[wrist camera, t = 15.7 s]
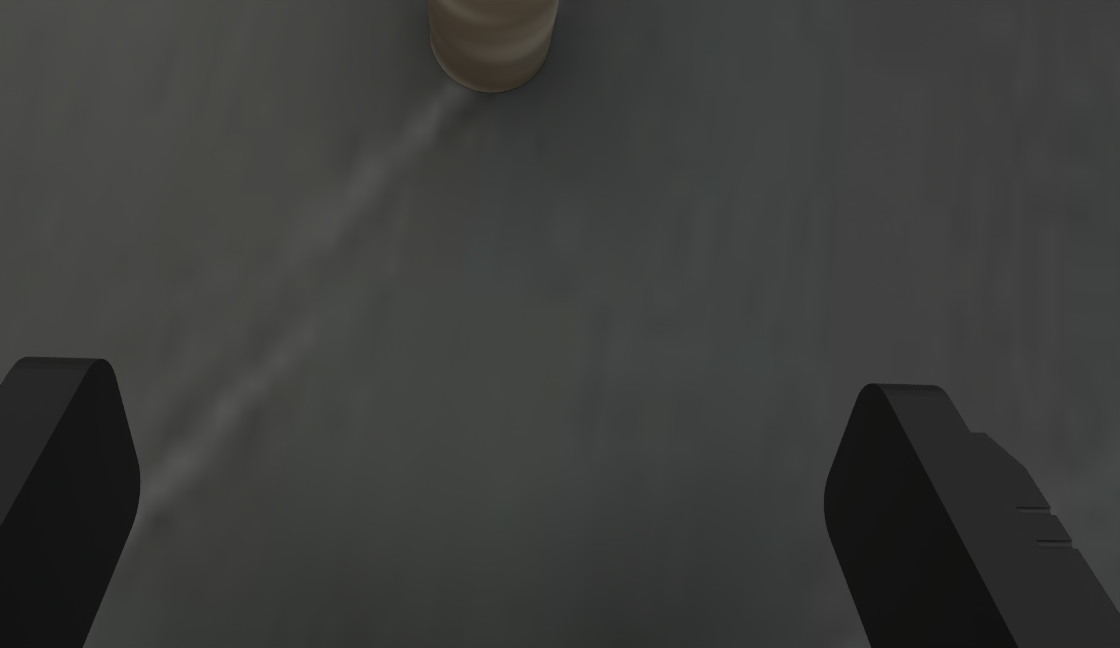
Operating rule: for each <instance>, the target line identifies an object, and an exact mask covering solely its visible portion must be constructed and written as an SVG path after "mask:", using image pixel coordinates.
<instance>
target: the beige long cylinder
mask: <svg viewBox="0 0 1120 648" xmlns="http://www.w3.org/2000/svg"><path fill="white" fill-rule="evenodd" d="M558 3H559V0H427V6H428V18H429V31H430V42H431V47H432V50H433V53H434V56H435V58H436V60H437V62H438V63H439V65H440V66H441V68H442V69H443V70H444V71H445V72H446V74H447V75H448V76H450V77H451V78H452V79H453V80H454V81H456V82H458V83H459V84H461V85H463V86H465V87H467V88H469V89H472V90H475V91H480V92H487V93H498V92H505V91H509V90H512V89H515V88H517V87H519V86H521V85H523V84H525V83H526V82H528V81H529V80H530V79H531V78H533V77H534V76H535V75H536V73H537V72H538V71H539V70H540V68H541V67H542V65H543V63H544V62H545V60H546V57H547V54H548V51H549V46H550V41H551V36H552V32H553V27H554V22H555V18H556V13H557V8H558Z"/></svg>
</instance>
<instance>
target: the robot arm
mask: <svg viewBox="0 0 1120 648" xmlns="http://www.w3.org/2000/svg"><path fill="white" fill-rule="evenodd" d="M139 496H140V470H139V464H138V459H137V455H136V452H135V448H134V444H133V440H132V437H131V433H130V429H129V425H128V421H127V418H126V414H125V410H124V406H123V402H122V399H121V395H120V391H119V387H118V384H117V380H116V376H115V373H114V370H113V368H112V366H111V365H110V364H109V362H108V361H106V360H104V359H92V358H57V357H24V358H22V359H20V360H19V361H18V362H16V363H15V365H14V366H13V367H12V368H11V370H10V371H9V373H8V374H7V376H6V377H5V379H4V380H3V382H2V383H1V385H0V648H83V645H84V643H85V640H86V638H87V636H88V633H89V631H90V628H91V626H92V623H93V621H94V619H95V616H96V614H97V611H98V609H99V606H100V604H101V601H102V599H103V597H104V594H105V592H106V589H107V587H108V584H109V582H110V579H111V577H112V575H113V572H114V570H115V567H116V565H117V562H118V560H119V558H120V555H121V553H122V550H123V548H124V545H125V543H126V540H127V538H128V536H129V533H130V531H131V528H132V526H133V523H134V520H135V517H136V513H137V508H138V503H139ZM1050 508H1051V507H1050V505H1049V504H1048V502H1047V501H1046V499H1045V498H1044V496H1043V495H1042V493H1041V492H1040V490H1039V488H1038V487H1037V485H1036V484H1035V482H1034V481H1033V479H1032V478H1031V476H1030V475H1029V473H1028V471H1027V470H1026V468H1025V467H1024V466H1023V465H1021V464H1020V463H1019V462H1018V461H1017V460H1016V459H1015V458H1013V457H1012V456H1011V455H1010V454H1009V453H1008V452H1006V451H1005V450H1004V449H1003V448H1002V447H1001V446H999V445H998V444H997V443H996V442H995V441H994V440H993V439H991V438H990V437H989V436H988V435H987V434H986V433H971V432H970V431H969V429H968V427H967V426H966V424H965V423H964V421H963V419H962V418H961V416H960V414H959V413H958V411H957V409H956V408H955V406H954V404H953V403H952V401H951V399H950V398H949V396H948V395H947V394H946V392H945V391H944V390H943V389H942V388H940V387H938V386H935V385H908V384H874V383H872V384H868V385H866V386H865V387H864V388H863V389H862V390H861V392H860V393H859V395H858V397H857V400H856V402H855V405H854V408H853V410H852V413H851V416H850V418H849V421H848V424H847V427H846V429H845V432H844V435H843V437H842V440H841V443H840V445H839V448H838V451H837V453H836V456H835V459H834V461H833V464H832V467H831V469H830V472H829V475H828V478H827V481H826V486H825V493H824V513H825V521H826V526H827V530H828V534H829V537H830V539H831V542H832V545H833V547H834V550H835V553H836V555H837V558H838V561H839V563H840V566H841V568H842V571H843V574H844V576H845V579H846V582H847V584H848V587H849V590H850V592H851V595H852V598H853V600H854V603H855V605H856V608H857V611H858V613H859V616H860V619H861V621H862V624H863V627H864V629H865V632H866V635H867V637H868V640H869V642H870V645H871V648H1120V613H1119V612H1118V610H1117V609H1116V607H1115V606H1114V604H1113V603H1112V601H1111V600H1110V598H1109V596H1108V595H1107V593H1106V592H1105V590H1104V589H1103V587H1102V586H1101V584H1100V583H1099V581H1098V579H1097V578H1096V576H1095V575H1094V573H1093V572H1092V570H1091V569H1090V567H1089V566H1088V564H1087V562H1086V561H1085V559H1084V558H1083V556H1082V555H1081V553H1080V552H1079V550H1078V549H1073V548H1072V545H1071V542H1072V539H1071V538H1070V536H1069V535H1068V533H1067V532H1066V530H1065V529H1064V527H1063V525H1062V524H1061V522H1060V521H1059V519H1058V518H1057V516H1056V515H1051V513H1050Z"/></svg>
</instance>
